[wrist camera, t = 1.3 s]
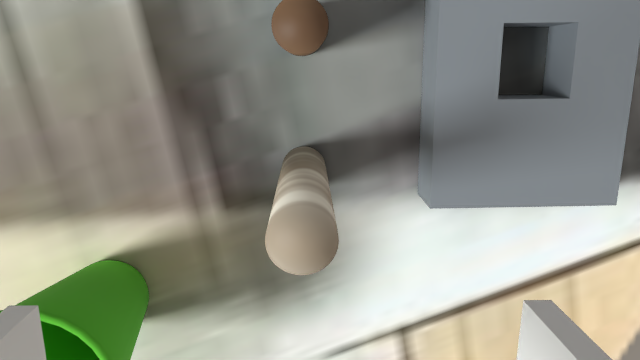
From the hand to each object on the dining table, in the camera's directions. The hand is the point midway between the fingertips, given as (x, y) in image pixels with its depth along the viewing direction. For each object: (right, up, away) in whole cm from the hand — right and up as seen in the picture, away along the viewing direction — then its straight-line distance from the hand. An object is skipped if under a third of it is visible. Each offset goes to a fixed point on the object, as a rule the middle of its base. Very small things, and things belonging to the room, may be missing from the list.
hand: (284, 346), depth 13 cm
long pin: (0, +5, +20) cm, 21 cm away
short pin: (0, +14, +18) cm, 23 cm away
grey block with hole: (+14, +12, +19) cm, 26 cm away
